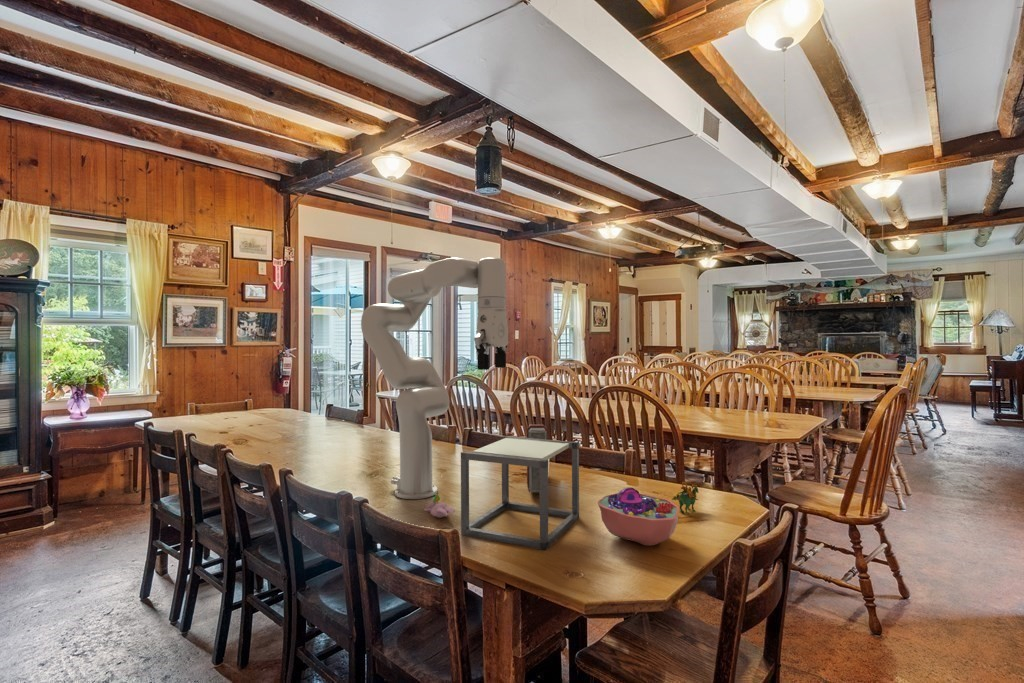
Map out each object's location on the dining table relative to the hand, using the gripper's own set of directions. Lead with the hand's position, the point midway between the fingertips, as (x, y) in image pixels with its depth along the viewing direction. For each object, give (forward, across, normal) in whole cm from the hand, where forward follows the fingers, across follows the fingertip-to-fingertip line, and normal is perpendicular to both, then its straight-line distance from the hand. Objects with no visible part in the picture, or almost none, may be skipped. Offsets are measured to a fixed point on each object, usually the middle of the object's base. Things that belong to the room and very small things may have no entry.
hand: (492, 368), depth 141 cm
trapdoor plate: (+20, -7, -12) cm, 24 cm away
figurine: (+38, +20, -47) cm, 64 cm away
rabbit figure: (+39, -10, +11) cm, 41 cm away
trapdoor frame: (+38, -7, -12) cm, 41 cm away
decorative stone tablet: (+38, +28, -1) cm, 48 cm away
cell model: (+39, -4, -40) cm, 56 cm away
